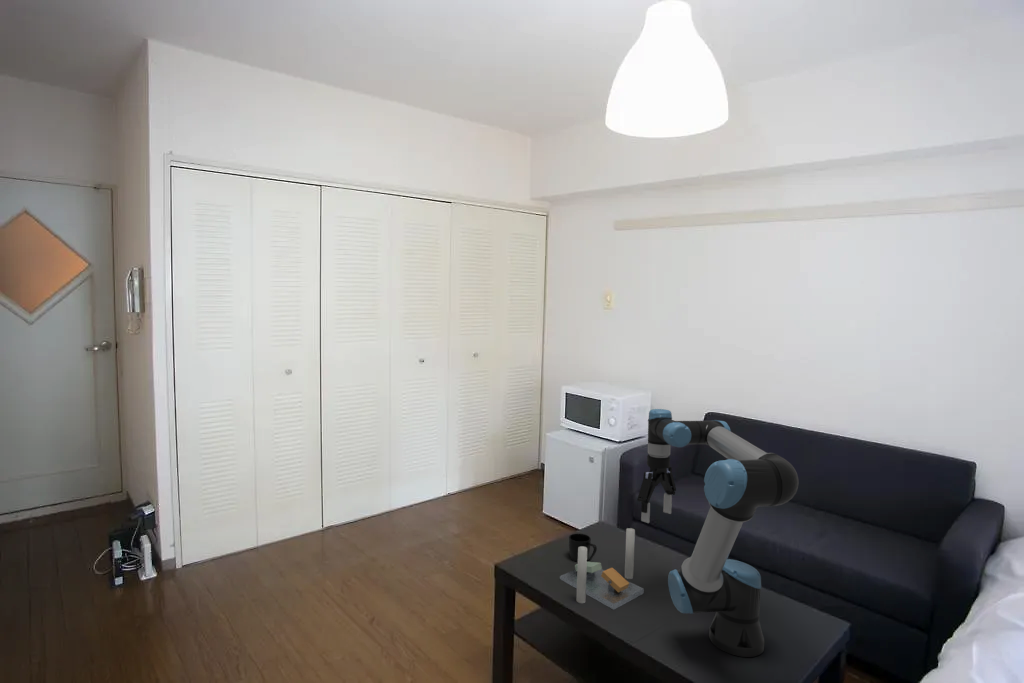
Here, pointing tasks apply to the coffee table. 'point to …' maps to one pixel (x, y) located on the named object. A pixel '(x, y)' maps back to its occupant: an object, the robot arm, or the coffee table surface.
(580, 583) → the cord post left
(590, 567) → the rocker on
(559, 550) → the coffee table surface
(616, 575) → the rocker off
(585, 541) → the mug
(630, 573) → the cord post right
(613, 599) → the panel
